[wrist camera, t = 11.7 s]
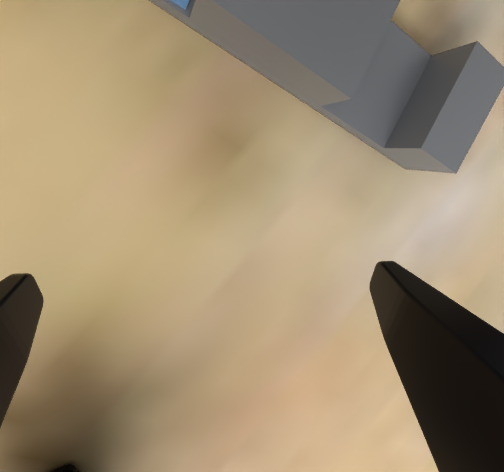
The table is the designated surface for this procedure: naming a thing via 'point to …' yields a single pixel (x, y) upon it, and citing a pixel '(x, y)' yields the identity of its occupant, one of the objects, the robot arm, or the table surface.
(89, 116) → the table surface
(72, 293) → the table surface
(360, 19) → the gray notched block
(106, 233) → the table surface
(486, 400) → the robot arm
